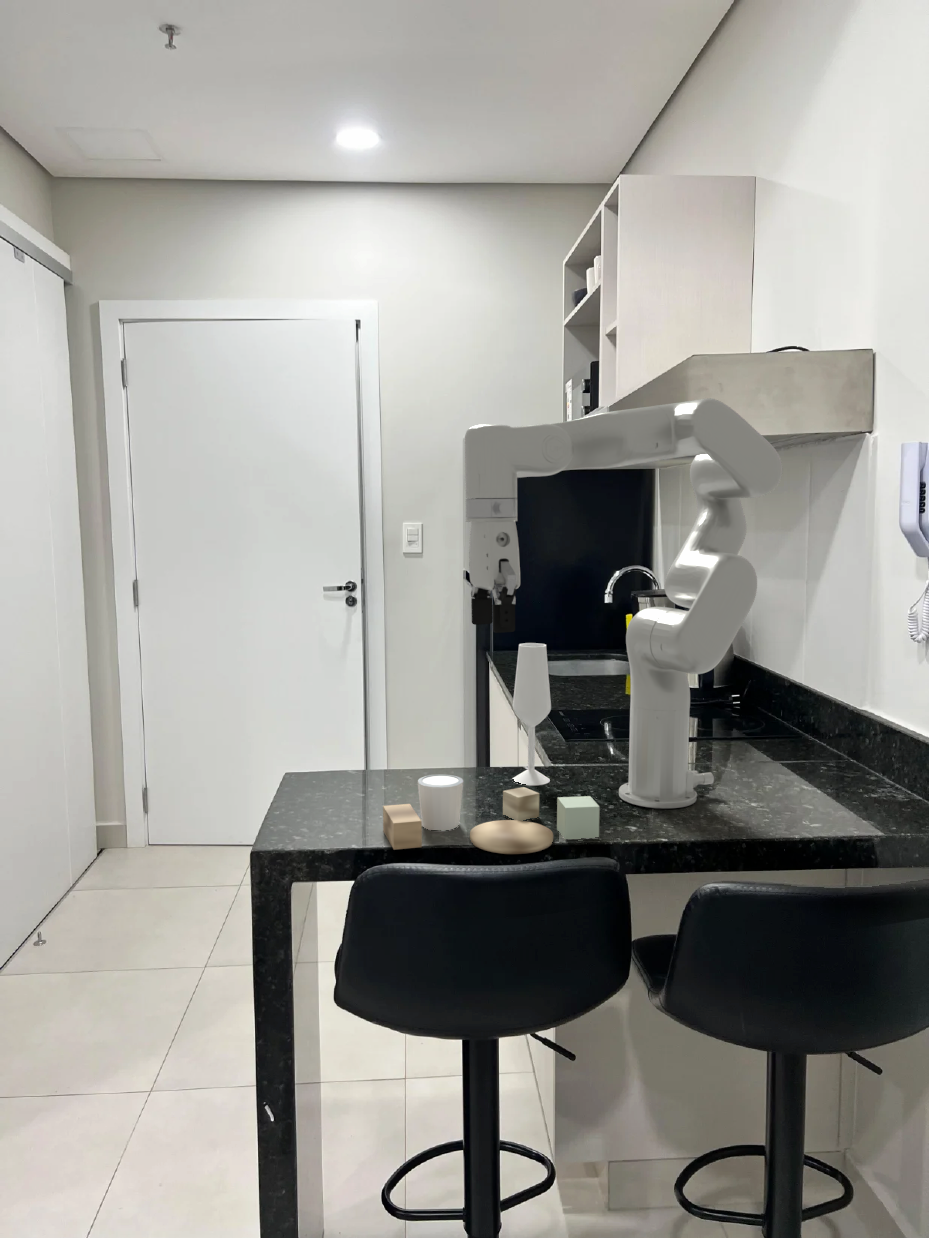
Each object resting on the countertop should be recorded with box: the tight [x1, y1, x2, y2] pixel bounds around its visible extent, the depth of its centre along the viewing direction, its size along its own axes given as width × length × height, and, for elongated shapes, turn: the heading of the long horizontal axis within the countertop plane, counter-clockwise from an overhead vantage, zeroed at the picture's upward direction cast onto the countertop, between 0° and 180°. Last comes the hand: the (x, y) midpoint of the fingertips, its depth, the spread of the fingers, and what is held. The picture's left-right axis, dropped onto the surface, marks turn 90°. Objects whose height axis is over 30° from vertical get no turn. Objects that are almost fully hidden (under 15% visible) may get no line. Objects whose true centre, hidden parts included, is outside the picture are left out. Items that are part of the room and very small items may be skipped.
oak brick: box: [382, 803, 423, 851], centre depth 136 cm, size 8×4×4 cm, turn 15°
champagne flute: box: [512, 642, 552, 786], centre depth 164 cm, size 7×7×24 cm
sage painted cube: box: [556, 795, 600, 840], centre depth 138 cm, size 5×5×5 cm
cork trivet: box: [469, 819, 554, 855], centre depth 136 cm, size 12×12×1 cm
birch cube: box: [502, 786, 540, 821], centre depth 146 cm, size 4×4×4 cm
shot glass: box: [417, 773, 464, 831], centre depth 142 cm, size 7×7×7 cm
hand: (492, 627), depth 139 cm, fingers open, 9 cm apart
